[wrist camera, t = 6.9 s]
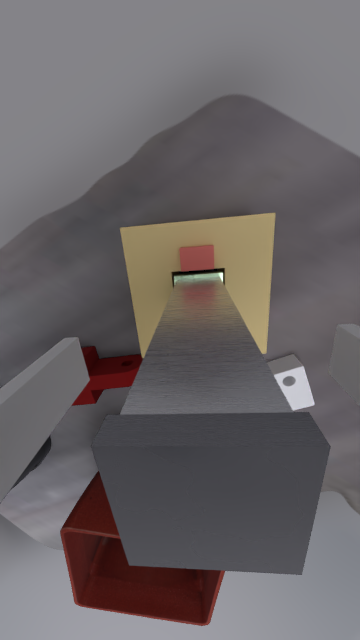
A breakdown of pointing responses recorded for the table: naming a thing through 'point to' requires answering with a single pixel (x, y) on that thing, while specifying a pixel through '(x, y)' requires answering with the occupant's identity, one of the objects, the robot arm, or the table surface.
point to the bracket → (292, 381)
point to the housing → (201, 266)
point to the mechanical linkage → (106, 374)
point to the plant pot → (129, 570)
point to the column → (210, 447)
